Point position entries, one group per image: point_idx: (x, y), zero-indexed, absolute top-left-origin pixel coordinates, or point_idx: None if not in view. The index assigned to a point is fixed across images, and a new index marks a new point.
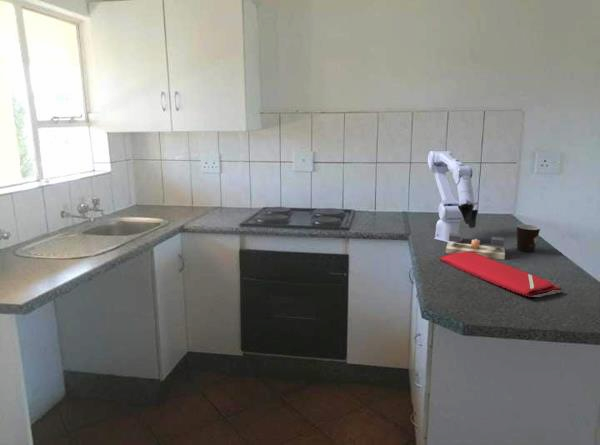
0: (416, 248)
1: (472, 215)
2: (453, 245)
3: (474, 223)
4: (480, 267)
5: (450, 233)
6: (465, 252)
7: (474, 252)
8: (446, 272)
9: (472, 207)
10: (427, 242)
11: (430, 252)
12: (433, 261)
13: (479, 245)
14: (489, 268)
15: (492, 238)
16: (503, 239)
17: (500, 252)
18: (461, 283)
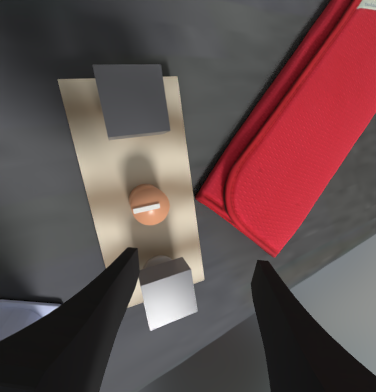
0: (194, 350)
1: (94, 340)
2: None
3: (127, 266)
4: (338, 141)
5: (163, 323)
6: (233, 211)
7: (191, 190)
8: (331, 211)
9: (340, 383)
10: (105, 370)
11: (212, 304)
12: (278, 263)
13: (149, 185)
14: (344, 118)
15: (146, 129)
16: (134, 66)
17: None
18: (372, 167)
